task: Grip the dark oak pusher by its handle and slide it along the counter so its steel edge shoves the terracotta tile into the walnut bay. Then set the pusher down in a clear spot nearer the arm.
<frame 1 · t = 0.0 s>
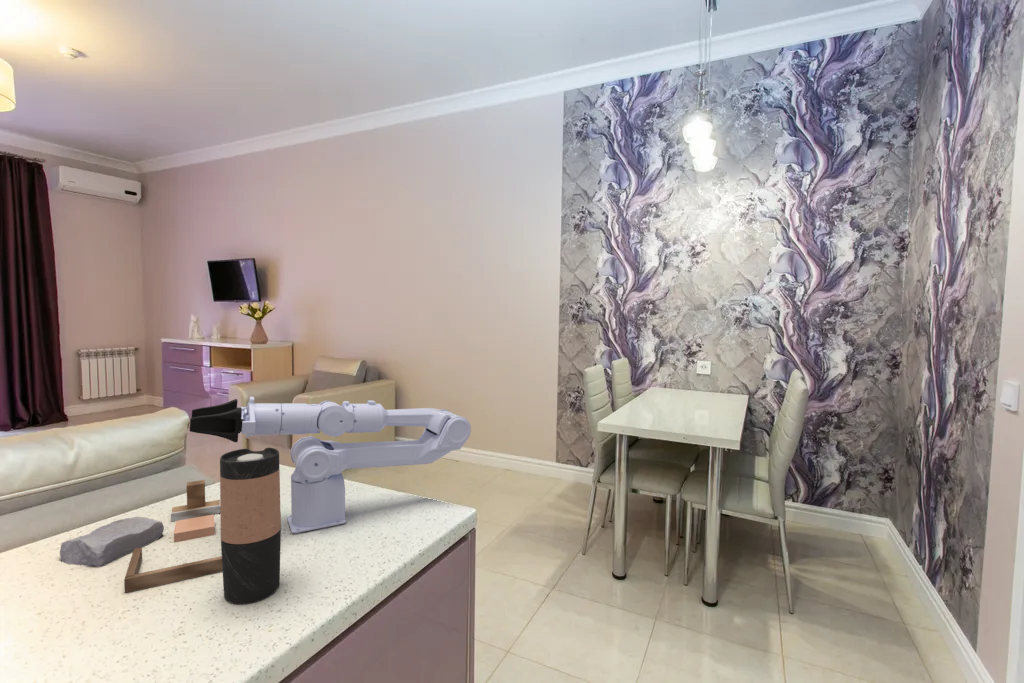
hand: (190, 420, 83), 22 cm above the counter, tool horizontal, fingers open, 7 cm apart
stone block: (111, 550, 83), on the counter
oak pusher: (196, 512, 99), on the counter
walnut bay: (192, 562, 79), on the counter
terracotta tile: (195, 534, 90), on the counter
travel mug: (252, 591, 71), on the counter
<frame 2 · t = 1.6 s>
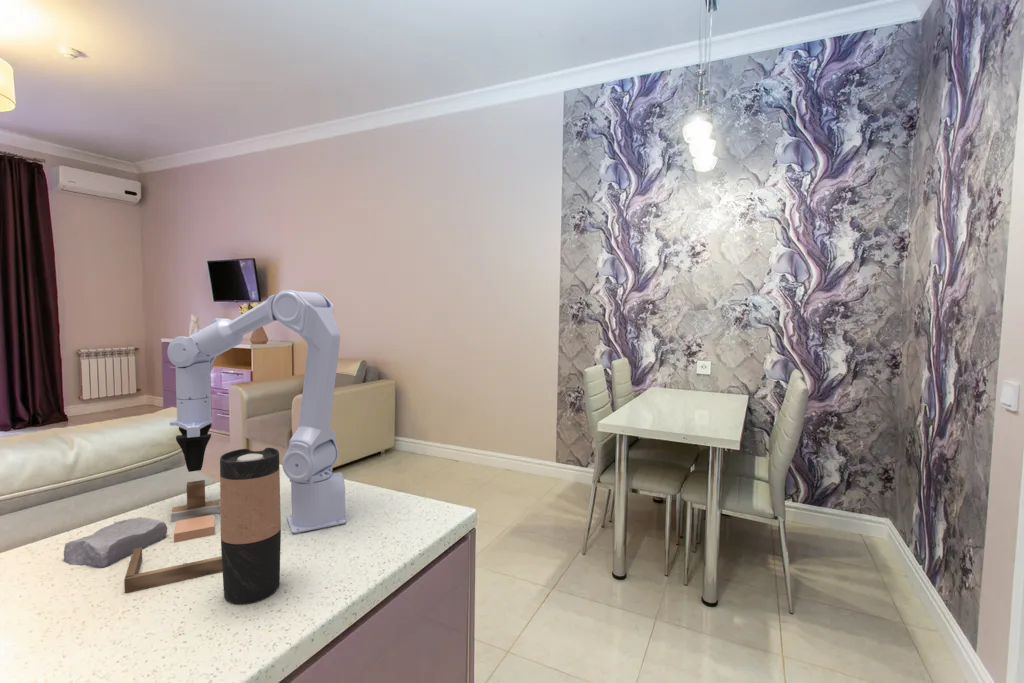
hand: (195, 465, 98), 9 cm above the counter, tool pointing down, fingers open, 7 cm apart
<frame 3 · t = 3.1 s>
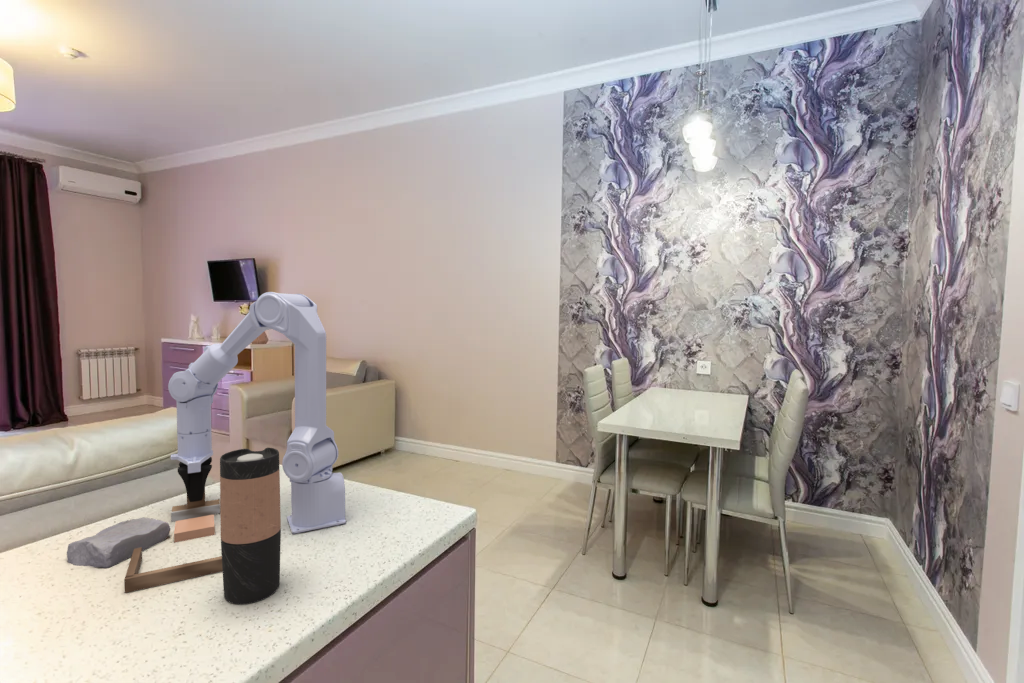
hand: (196, 498, 98), 3 cm above the counter, tool pointing down, fingers closed on oak pusher, 2 cm apart
oak pusher: (196, 511, 99), on the counter, touching gripper
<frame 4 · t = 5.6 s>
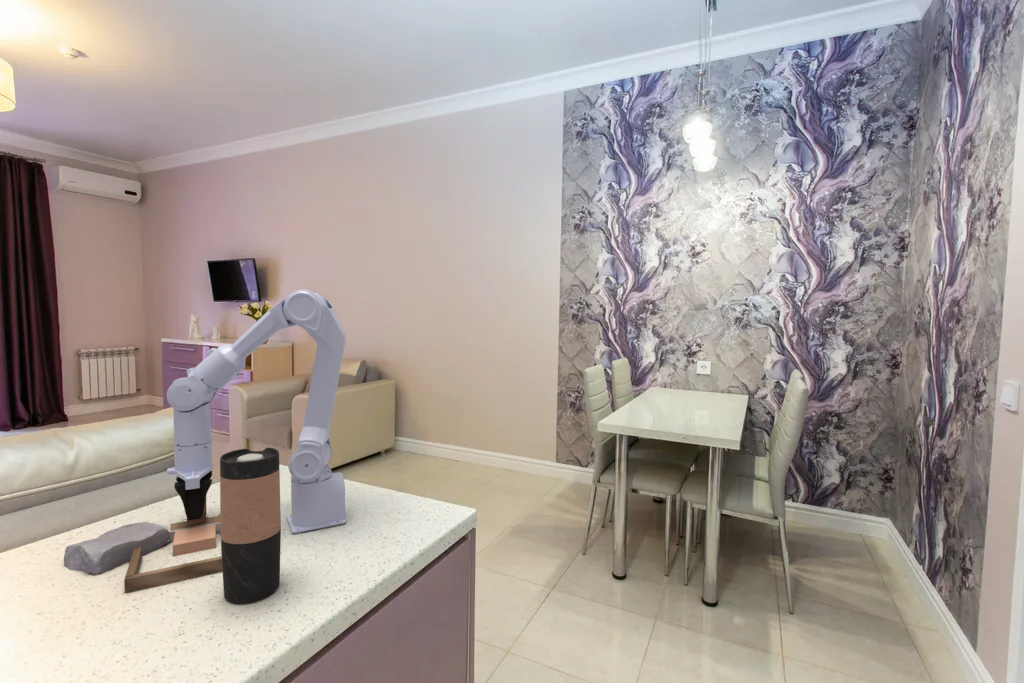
hand: (195, 515, 90), 3 cm above the counter, tool pointing down, fingers closed on oak pusher, 2 cm apart
stone block: (116, 556, 81), on the counter
oak pusher: (197, 529, 91), on the counter, touching gripper
terracotta tile: (195, 545, 85), on the counter
everything else where it was.
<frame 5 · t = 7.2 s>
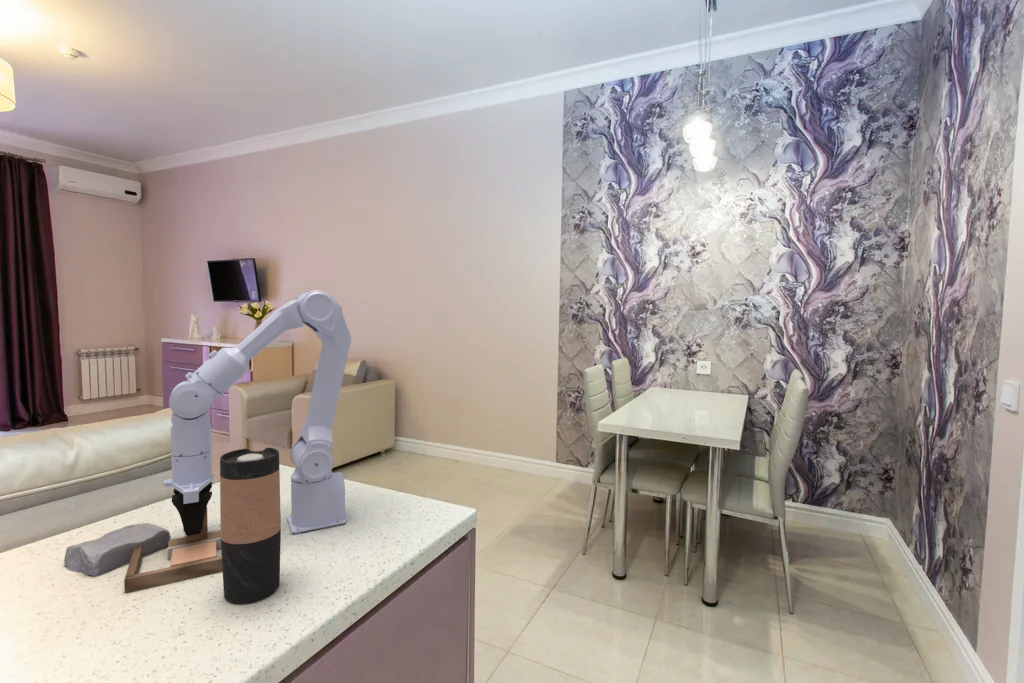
hand: (193, 530, 84), 3 cm above the counter, tool pointing down, fingers closed on oak pusher, 2 cm apart
oak pusher: (197, 545, 85), on the counter, touching gripper
terracotta tile: (194, 564, 79), on the counter
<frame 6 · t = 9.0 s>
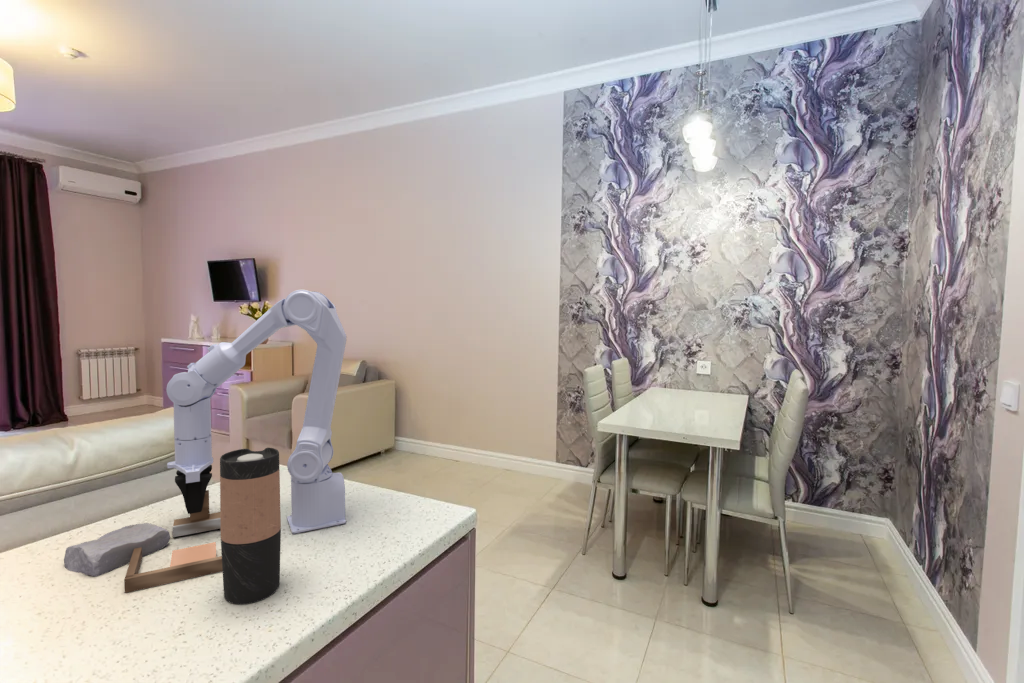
hand: (195, 509, 91), 3 cm above the counter, tool pointing down, fingers closed on oak pusher, 2 cm apart
oak pusher: (200, 524, 92), on the counter, touching gripper
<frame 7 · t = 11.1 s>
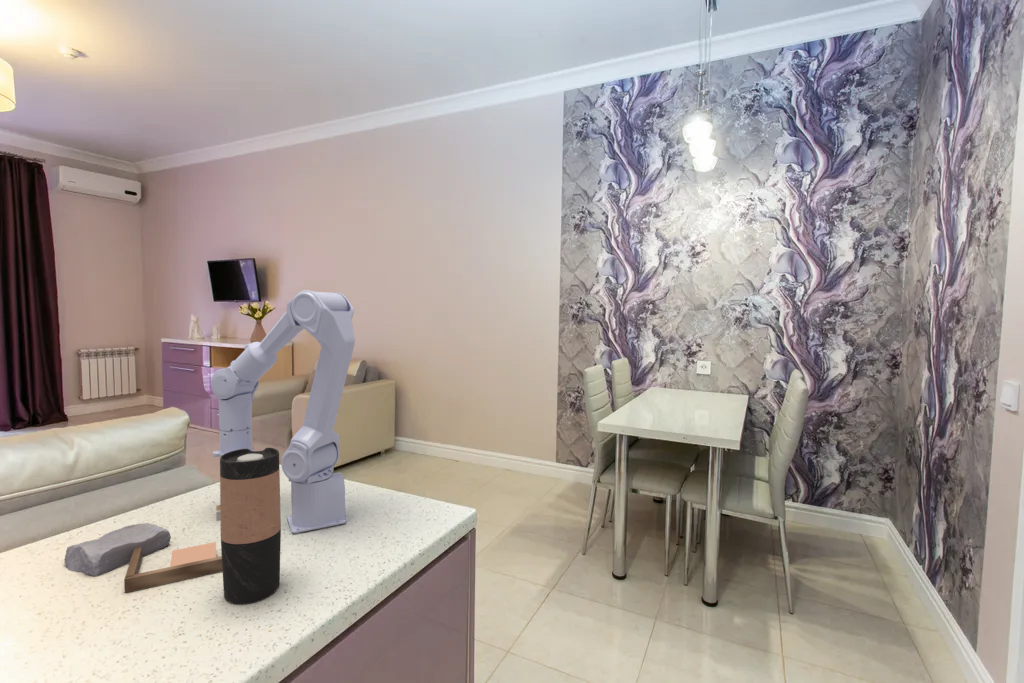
hand: (237, 495, 99), 3 cm above the counter, tool pointing down, fingers closed on oak pusher, 2 cm apart
oak pusher: (239, 510, 99), on the counter, touching gripper
everything else where it was.
when the fingers open (3 cm above the counter, at t = 11.2 s): oak pusher stays where it is, on the counter.
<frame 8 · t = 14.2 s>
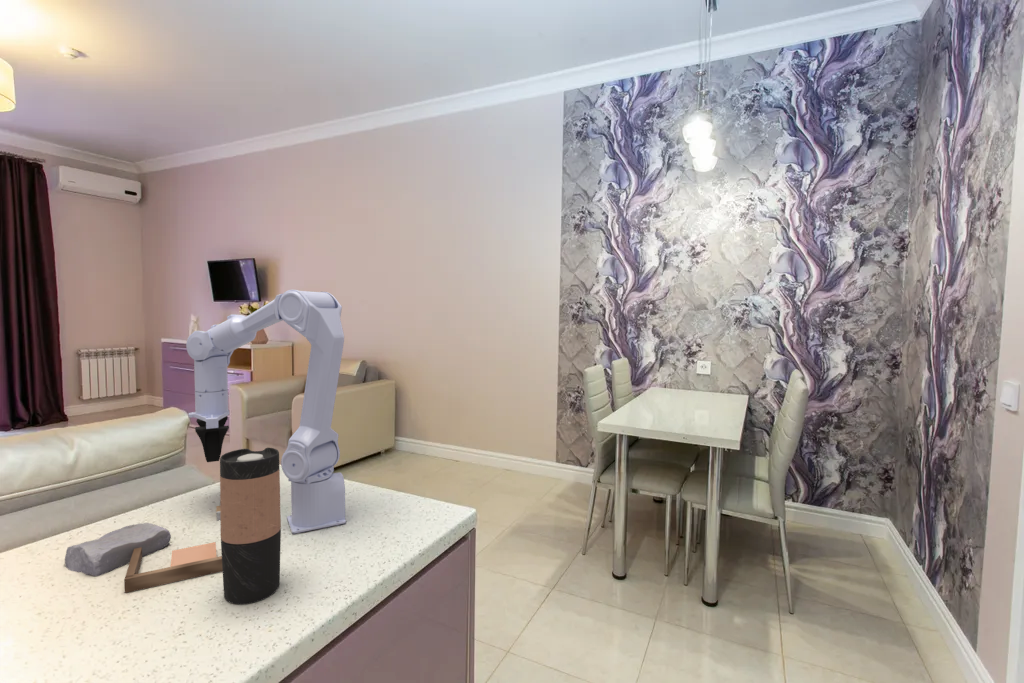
hand: (212, 456, 101), 10 cm above the counter, tool pointing down, fingers open, 7 cm apart
oak pusher: (239, 511, 99), on the counter
everything else where it was.
at the end: terracotta tile inside the target area (0.3 cm from its centre), on the counter; oak pusher inside the target area (0.4 cm from its centre), on the counter; oak pusher tilted 0° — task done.
